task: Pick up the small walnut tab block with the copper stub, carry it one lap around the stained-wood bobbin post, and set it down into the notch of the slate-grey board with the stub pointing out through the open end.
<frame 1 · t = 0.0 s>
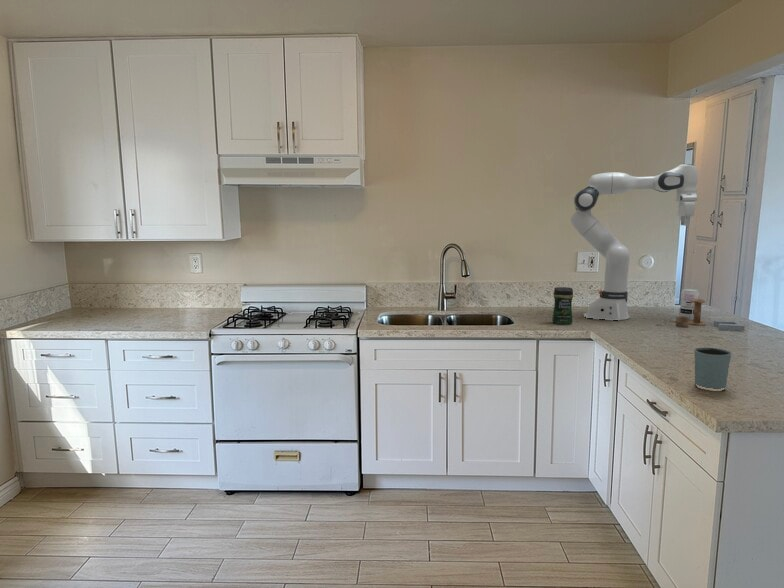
hand: (684, 225, 268), 48 cm above the counter, tool pointing down, fingers open, 8 cm apart
teal cup: (709, 387, 173), on the counter
tab: (681, 326, 260), on the counter
supplement can: (688, 318, 279), on the counter
coffee jar: (562, 323, 273), on the counter
notch board: (728, 328, 255), on the counter
bobbin: (696, 324, 265), on the counter
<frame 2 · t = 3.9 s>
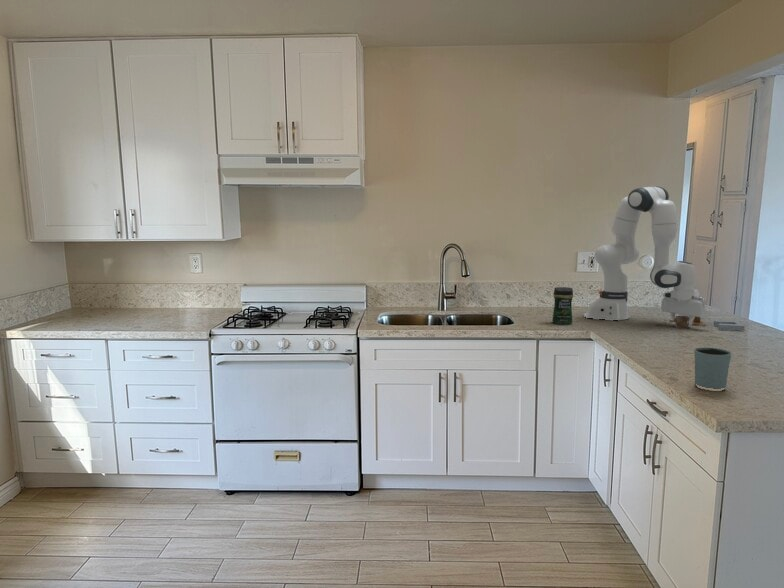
hand: (681, 323, 260), 2 cm above the counter, tool pointing down, fingers closed on tab, 6 cm apart
tab: (681, 326, 260), on the counter, touching gripper
everything else where it was.
when the fingers open (3 cm above the counter, at t = 12.5 s): tab drops 2 cm, on the counter.
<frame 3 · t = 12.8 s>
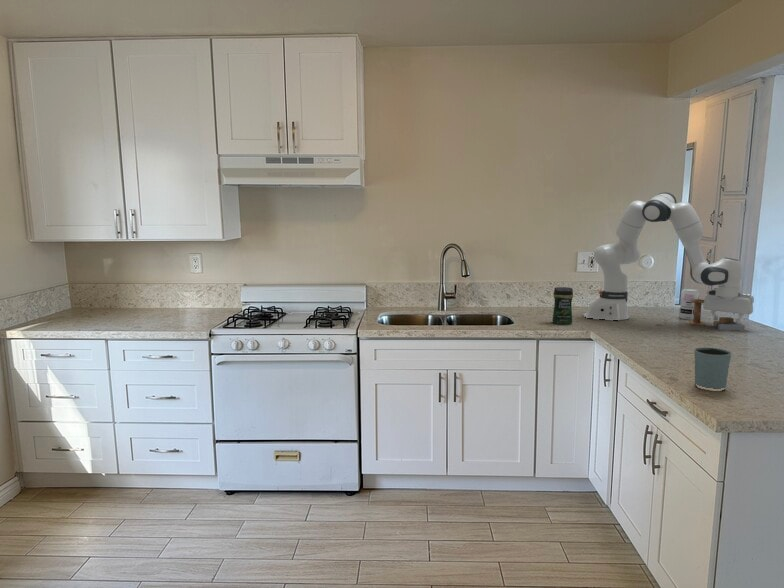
hand: (726, 321, 255), 3 cm above the counter, tool pointing down, fingers open, 8 cm apart
tab: (725, 328, 255), on the counter
everything else where it was.
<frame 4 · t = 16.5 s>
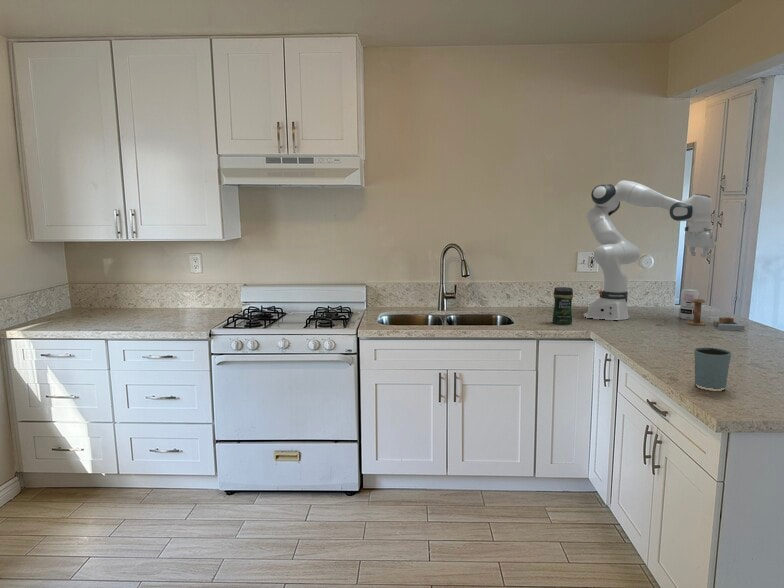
hand: (698, 256, 261), 33 cm above the counter, tool pointing down, fingers open, 8 cm apart
nothing on the counter moved.
at the end: tab inside the target area on the notch board (0.2 cm from its centre), point 0.0 cm above the notch board's base; tab on the counter; the gripper is holding nothing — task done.
